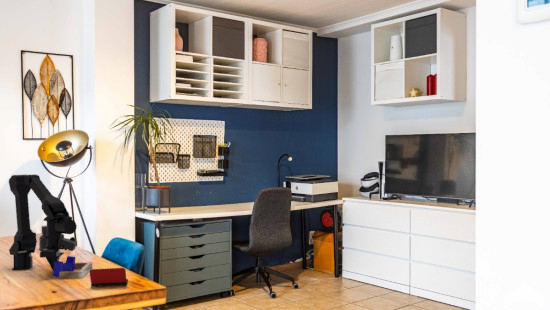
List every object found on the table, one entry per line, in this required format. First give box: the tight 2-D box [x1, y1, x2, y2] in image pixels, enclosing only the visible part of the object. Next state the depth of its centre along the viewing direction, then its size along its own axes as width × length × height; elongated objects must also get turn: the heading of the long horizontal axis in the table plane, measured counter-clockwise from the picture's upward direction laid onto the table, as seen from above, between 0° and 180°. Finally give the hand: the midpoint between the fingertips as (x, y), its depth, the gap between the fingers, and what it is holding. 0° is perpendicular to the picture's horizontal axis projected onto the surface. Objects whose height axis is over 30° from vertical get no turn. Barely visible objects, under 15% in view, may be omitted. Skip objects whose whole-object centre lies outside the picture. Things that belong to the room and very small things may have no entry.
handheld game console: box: [89, 267, 129, 288], centre depth 204 cm, size 12×11×7 cm
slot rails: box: [59, 262, 93, 280], centre depth 224 cm, size 8×19×2 cm, turn 7°
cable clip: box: [52, 255, 76, 278], centre depth 223 cm, size 12×4×6 cm, turn 174°
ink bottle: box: [38, 224, 47, 251], centre depth 281 cm, size 10×9×12 cm
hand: (54, 271), depth 223 cm, fingers closed, pressing on cable clip
